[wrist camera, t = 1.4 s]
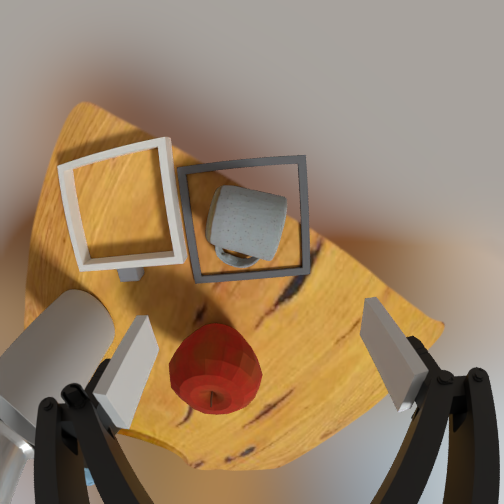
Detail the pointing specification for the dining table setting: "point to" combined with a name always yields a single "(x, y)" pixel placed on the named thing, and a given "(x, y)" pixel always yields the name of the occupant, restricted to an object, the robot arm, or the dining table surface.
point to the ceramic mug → (245, 224)
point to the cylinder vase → (52, 357)
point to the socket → (127, 264)
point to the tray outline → (238, 164)
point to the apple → (215, 370)
